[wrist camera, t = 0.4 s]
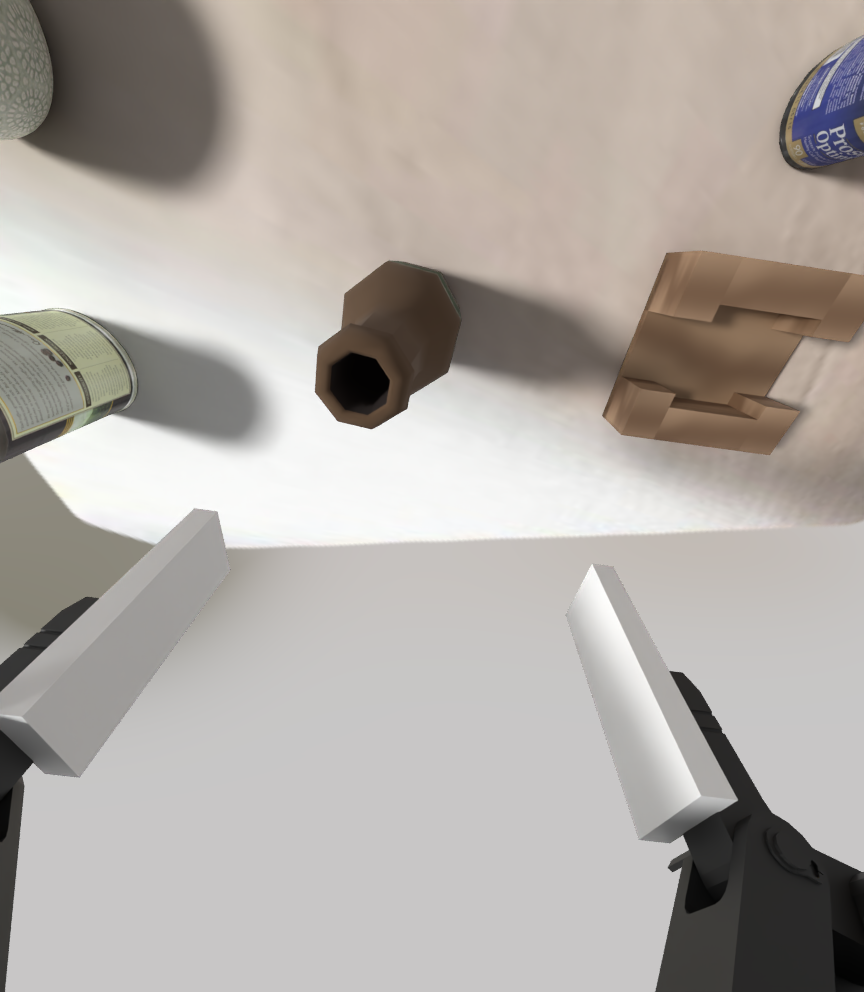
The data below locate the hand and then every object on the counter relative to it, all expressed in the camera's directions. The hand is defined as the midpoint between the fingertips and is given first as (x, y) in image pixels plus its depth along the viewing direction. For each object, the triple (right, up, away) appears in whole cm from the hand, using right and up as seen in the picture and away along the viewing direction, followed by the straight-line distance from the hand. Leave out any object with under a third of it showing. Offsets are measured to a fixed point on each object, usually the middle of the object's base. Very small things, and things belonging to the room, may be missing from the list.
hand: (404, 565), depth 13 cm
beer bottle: (0, +19, +20) cm, 28 cm away
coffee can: (-34, +16, +24) cm, 45 cm away
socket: (+26, +16, +21) cm, 37 cm away
